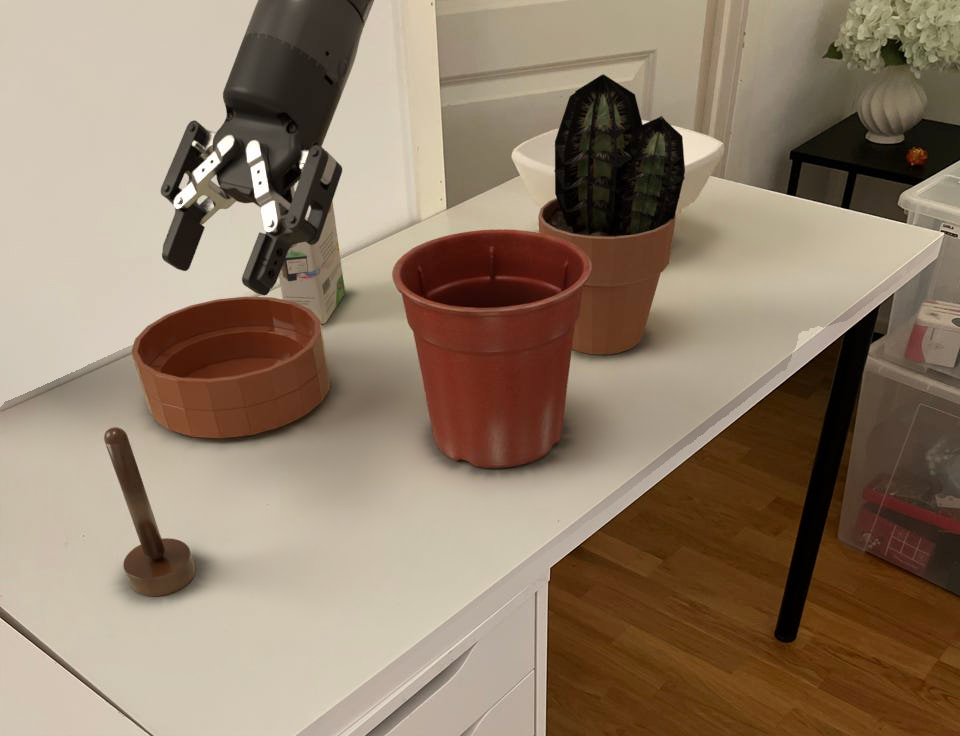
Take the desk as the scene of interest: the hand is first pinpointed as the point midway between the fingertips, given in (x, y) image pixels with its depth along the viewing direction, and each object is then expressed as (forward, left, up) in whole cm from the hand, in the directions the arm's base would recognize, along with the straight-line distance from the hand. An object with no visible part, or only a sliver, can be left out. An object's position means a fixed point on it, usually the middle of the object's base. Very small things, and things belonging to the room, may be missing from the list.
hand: (212, 277), depth 71 cm
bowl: (-15, +65, -20) cm, 69 cm away
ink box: (-29, +28, -20) cm, 45 cm away
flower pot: (+7, +22, -20) cm, 30 cm away
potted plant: (+1, +44, -20) cm, 48 cm away
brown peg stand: (+2, -11, -20) cm, 23 cm away
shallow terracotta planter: (-18, +10, -20) cm, 29 cm away
